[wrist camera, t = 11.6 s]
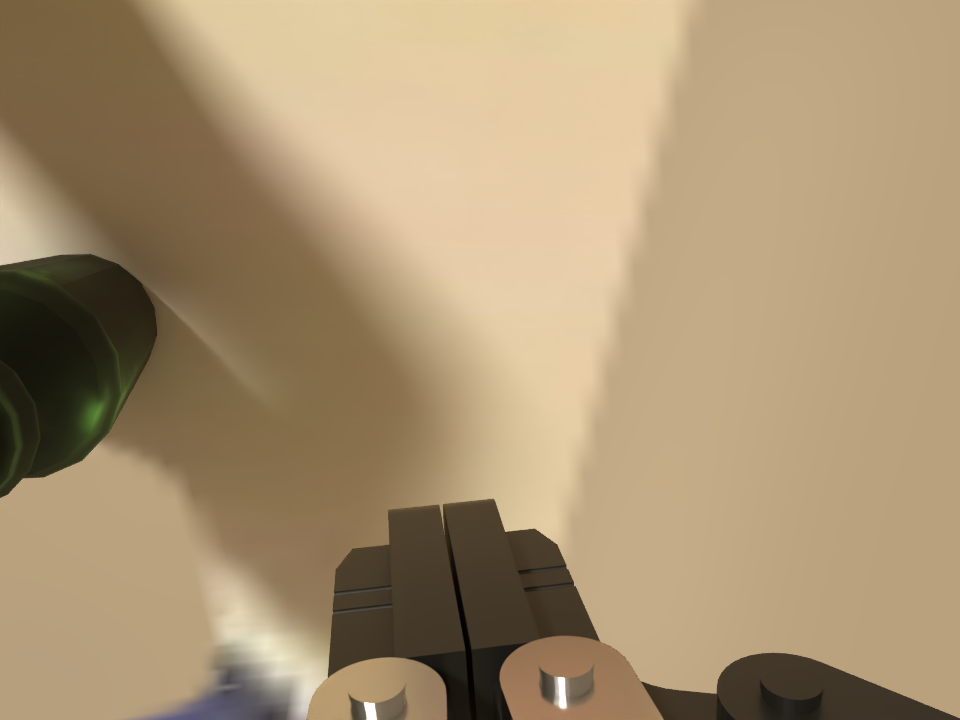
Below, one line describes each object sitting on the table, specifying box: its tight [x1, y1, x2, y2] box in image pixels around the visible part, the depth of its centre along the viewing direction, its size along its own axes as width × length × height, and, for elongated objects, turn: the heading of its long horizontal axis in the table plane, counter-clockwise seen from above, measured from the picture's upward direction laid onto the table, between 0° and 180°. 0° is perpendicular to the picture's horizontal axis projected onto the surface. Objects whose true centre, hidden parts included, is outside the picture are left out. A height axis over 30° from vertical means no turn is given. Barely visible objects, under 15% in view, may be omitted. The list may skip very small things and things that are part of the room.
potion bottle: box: [0, 254, 157, 498], centre depth 32 cm, size 8×8×18 cm
